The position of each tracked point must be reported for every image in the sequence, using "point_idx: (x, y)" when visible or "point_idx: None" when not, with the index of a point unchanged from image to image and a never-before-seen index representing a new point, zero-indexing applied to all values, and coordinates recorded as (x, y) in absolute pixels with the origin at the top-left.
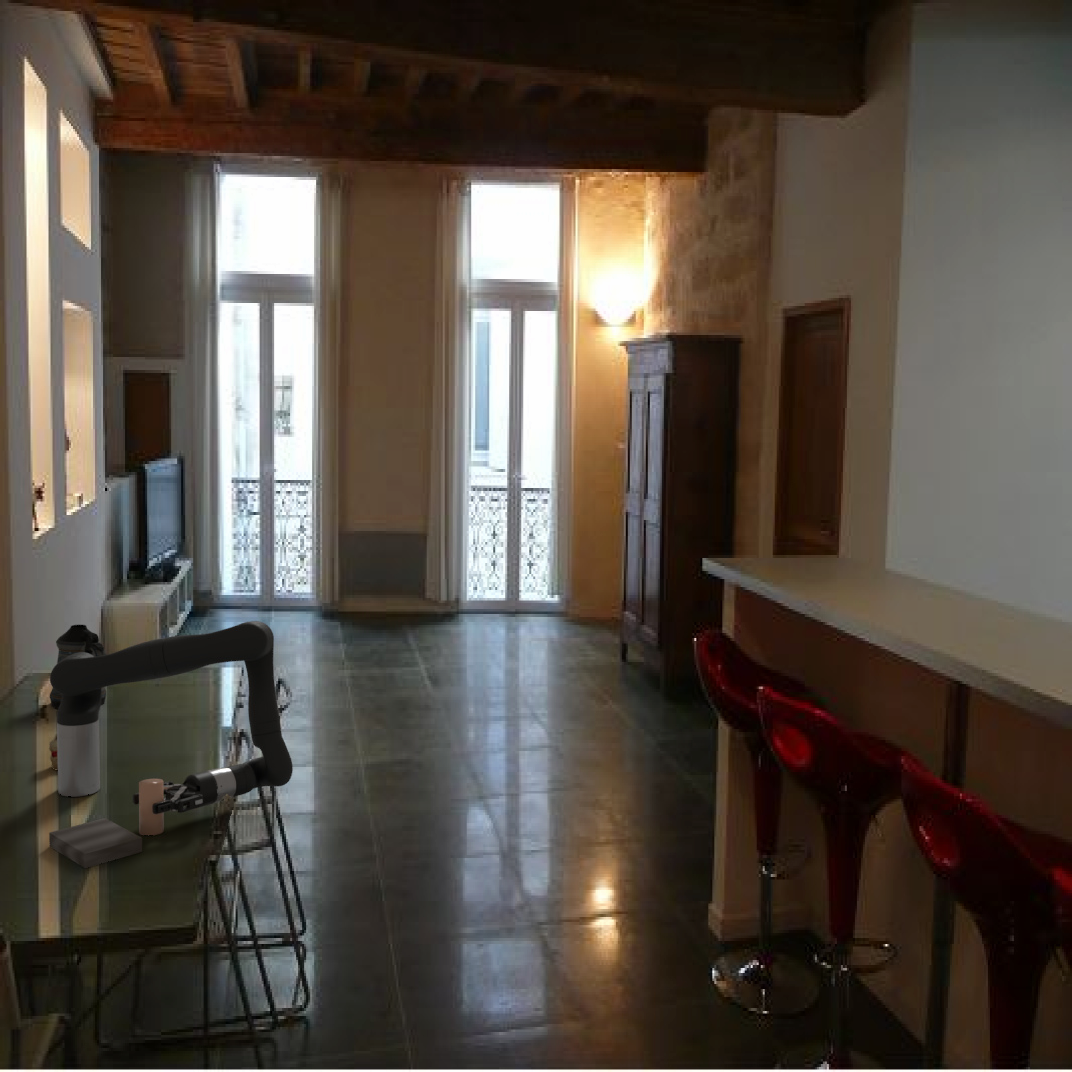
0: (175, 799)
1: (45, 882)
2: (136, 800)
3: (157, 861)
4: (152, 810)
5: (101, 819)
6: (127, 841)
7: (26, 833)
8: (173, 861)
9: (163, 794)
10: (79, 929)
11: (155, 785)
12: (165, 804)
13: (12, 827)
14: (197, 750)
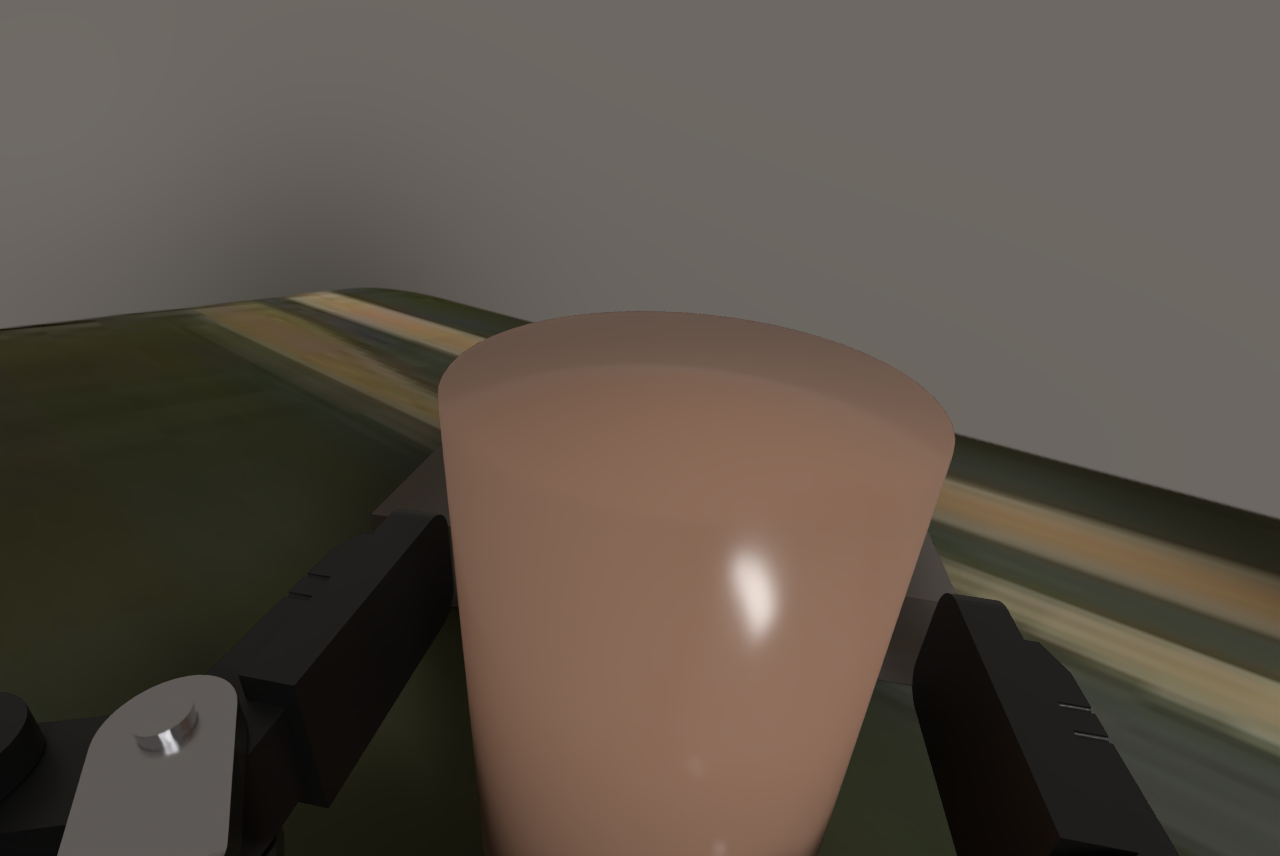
0: (110, 739)
1: None
2: (929, 669)
3: (195, 557)
4: (451, 570)
5: (937, 579)
6: (426, 461)
7: (1111, 503)
8: (65, 592)
9: (506, 721)
10: (252, 308)
11: (476, 344)
12: (286, 610)
13: (1242, 514)
14: None
